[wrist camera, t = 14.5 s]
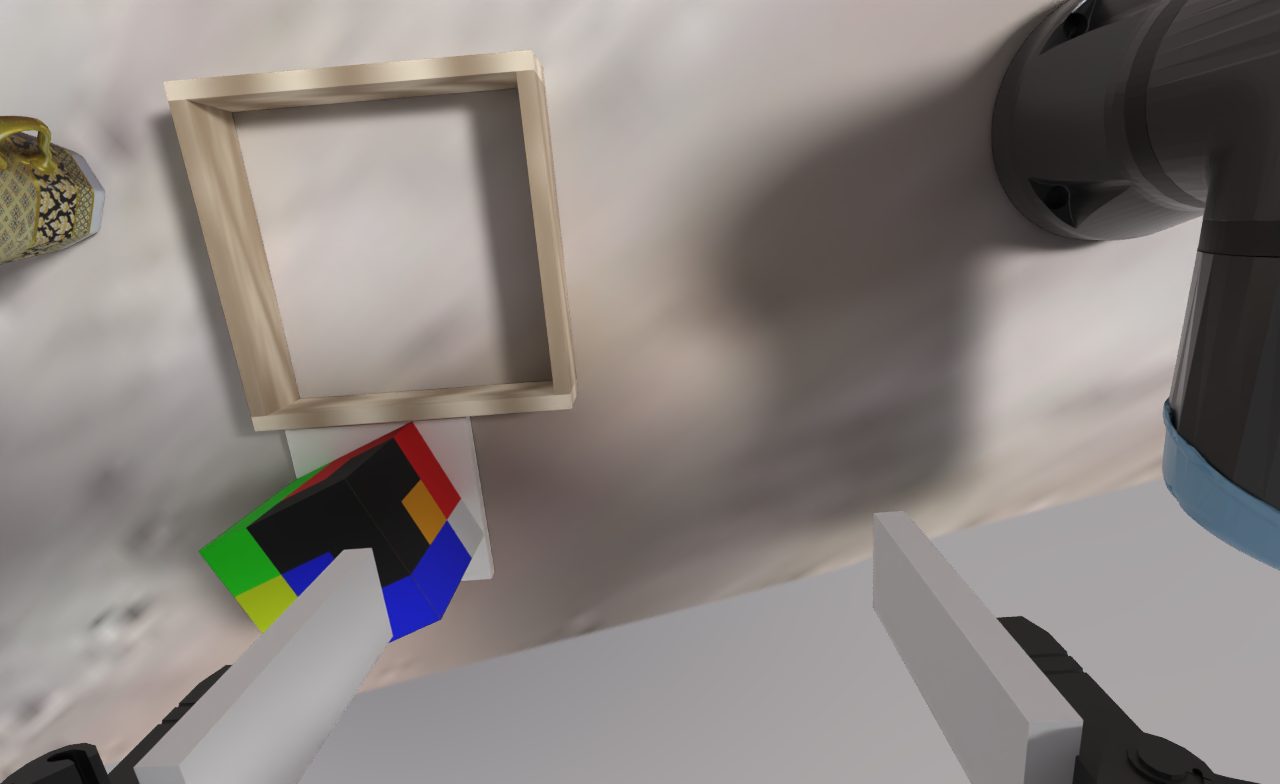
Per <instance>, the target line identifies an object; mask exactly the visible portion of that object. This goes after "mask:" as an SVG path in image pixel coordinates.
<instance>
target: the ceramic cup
mask: <svg viewBox="0 0 1280 784" xmlns="http://www.w3.org/2000/svg"><path fill="white" fill-rule="evenodd" d="M25 130H36V131H38V136H37V137H34V136H31V135H28V134H25V133H22V132H21V131H25ZM50 141H51V133H50V130H49V129H48V127H47V126H46V125H45V124H44V123H43V122H42V121H40V120H38V119H35V118H30V117H22V116H0V264H3V263H8V262H12V261H16V260H20V259H24V258H28V257H32V256H36V255H40V254H45V253H49V252H54V251H57V250H61V249H65V248H67V247H69V246H71V245H73V244H75V243H77V242H79V241H81V240H83V239H85V238H87V237H89V236H91V235H93V234H95V233H97V232H98V231H99V229H100V226H101V219H102V212H103V205H104V198H105V190H104V189H103V187H102V186H101V184H100V182H99V181H98V179H97V178H96V176H95V175H94V173H93V172H92V170H91V168H90V167H89V165H88V164H87V162H86V161H85V159H84V158H83V157H82V156H81V155H79V154H78V153H76V152H73V151H71V150H68V149H66V148H63V147H60V146H58V145H55V144H53V143H50Z"/></svg>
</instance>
